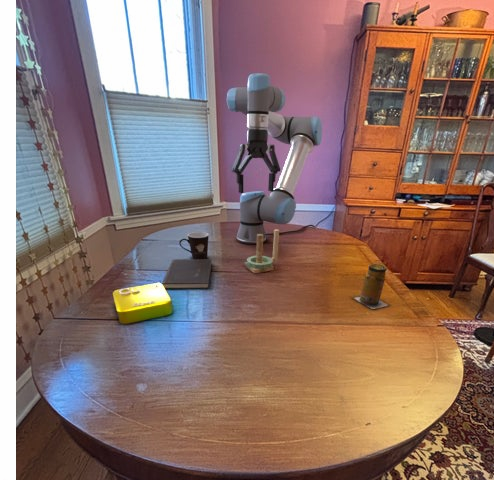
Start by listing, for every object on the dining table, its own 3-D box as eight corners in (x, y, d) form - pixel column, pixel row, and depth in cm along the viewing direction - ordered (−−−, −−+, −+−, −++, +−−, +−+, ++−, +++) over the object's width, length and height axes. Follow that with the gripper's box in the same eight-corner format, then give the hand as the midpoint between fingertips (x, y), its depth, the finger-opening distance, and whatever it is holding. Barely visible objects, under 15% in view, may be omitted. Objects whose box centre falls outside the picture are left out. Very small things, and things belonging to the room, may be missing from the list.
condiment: (369, 294, 103) (378, 261, 96) (388, 305, 96) (398, 271, 90) (353, 298, 100) (360, 264, 94) (371, 310, 93) (381, 274, 87)
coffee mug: (211, 254, 133) (210, 232, 128) (207, 261, 125) (205, 238, 120) (186, 253, 134) (184, 231, 128) (180, 260, 126) (177, 236, 121)
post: (263, 262, 126) (264, 230, 119) (274, 269, 120) (276, 236, 113) (244, 265, 123) (244, 233, 116) (254, 273, 116) (255, 239, 109)
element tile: (120, 325, 82) (116, 311, 80) (114, 302, 93) (111, 288, 91) (174, 314, 88) (172, 300, 86) (163, 293, 99) (161, 280, 97)
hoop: (254, 270, 114) (255, 237, 108) (242, 261, 122) (242, 230, 115) (283, 265, 120) (286, 233, 113) (270, 257, 128) (272, 226, 121)
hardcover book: (211, 264, 123) (211, 259, 122) (208, 288, 103) (208, 282, 102) (172, 264, 122) (171, 259, 120) (162, 289, 102) (161, 283, 101)
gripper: (230, 127, 100) (231, 195, 111) (291, 130, 110) (287, 191, 121) (221, 127, 105) (223, 192, 116) (281, 130, 116) (277, 189, 127)
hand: (256, 192), depth 119 cm, fingers open, 13 cm apart
